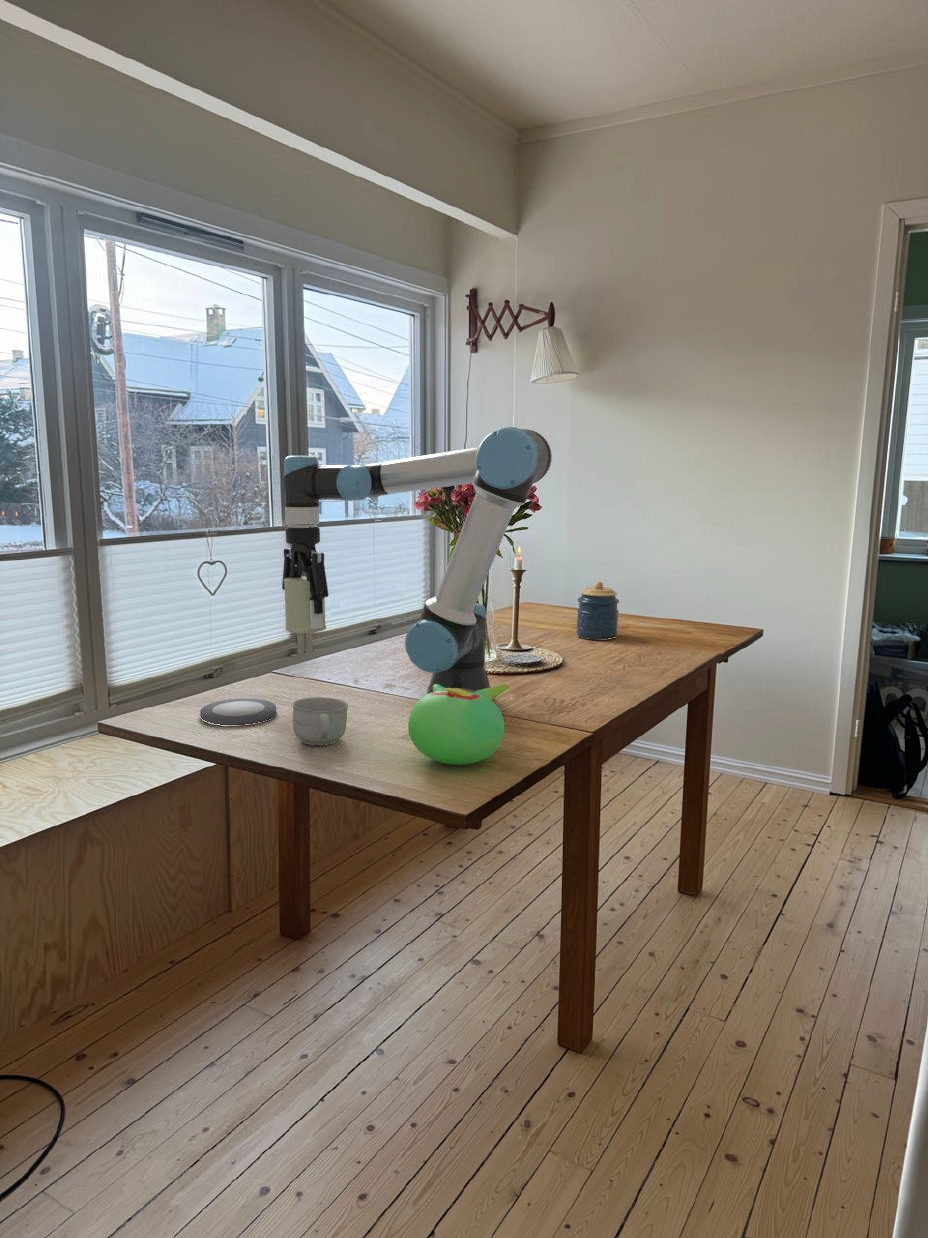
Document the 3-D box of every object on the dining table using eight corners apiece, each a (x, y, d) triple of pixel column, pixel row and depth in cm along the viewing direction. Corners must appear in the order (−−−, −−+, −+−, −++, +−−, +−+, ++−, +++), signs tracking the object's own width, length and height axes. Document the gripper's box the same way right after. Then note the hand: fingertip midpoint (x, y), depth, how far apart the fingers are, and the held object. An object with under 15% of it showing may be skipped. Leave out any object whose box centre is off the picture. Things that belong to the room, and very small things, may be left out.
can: (317, 633, 195) (316, 580, 192) (278, 631, 196) (276, 579, 194) (331, 625, 203) (330, 574, 201) (294, 624, 205) (292, 573, 203)
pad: (289, 717, 189) (289, 710, 189) (220, 731, 179) (220, 724, 179) (254, 700, 201) (254, 694, 201) (188, 713, 191) (187, 706, 191)
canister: (576, 631, 283) (578, 577, 280) (616, 633, 282) (619, 579, 278) (575, 640, 271) (577, 583, 267) (618, 642, 269) (620, 585, 266)
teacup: (296, 733, 179) (295, 695, 178) (349, 732, 180) (349, 694, 178) (288, 756, 165) (287, 715, 164) (346, 755, 166) (345, 715, 165)
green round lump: (394, 768, 160) (394, 690, 157) (430, 740, 175) (430, 669, 173) (487, 782, 154) (488, 702, 151) (516, 752, 169) (517, 679, 166)
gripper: (343, 528, 190) (345, 629, 194) (293, 522, 206) (296, 616, 210) (313, 529, 185) (316, 634, 189) (264, 523, 201) (267, 619, 205)
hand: (305, 624), depth 200 cm, fingers closed on can, 9 cm apart
